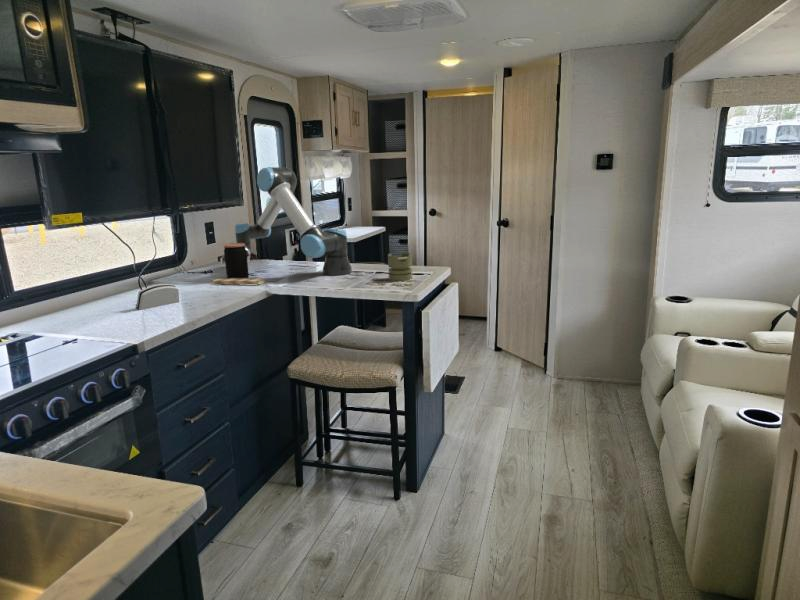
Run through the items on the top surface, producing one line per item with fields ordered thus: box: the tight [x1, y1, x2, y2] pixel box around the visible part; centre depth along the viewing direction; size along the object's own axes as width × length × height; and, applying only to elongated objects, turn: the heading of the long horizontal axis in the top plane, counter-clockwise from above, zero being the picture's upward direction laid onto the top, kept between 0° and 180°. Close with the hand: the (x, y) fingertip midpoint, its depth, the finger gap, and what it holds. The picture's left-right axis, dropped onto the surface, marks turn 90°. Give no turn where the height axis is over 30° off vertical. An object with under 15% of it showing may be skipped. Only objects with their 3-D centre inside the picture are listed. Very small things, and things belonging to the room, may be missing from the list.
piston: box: [387, 252, 413, 282], centre depth 254 cm, size 11×12×11 cm
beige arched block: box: [135, 283, 180, 311], centre depth 216 cm, size 17×5×10 cm, turn 140°
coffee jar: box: [223, 242, 250, 278], centre depth 266 cm, size 11×11×18 cm
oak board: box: [212, 277, 266, 286], centre depth 257 cm, size 24×7×2 cm, turn 77°
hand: (234, 260), depth 262 cm, fingers open, 12 cm apart
